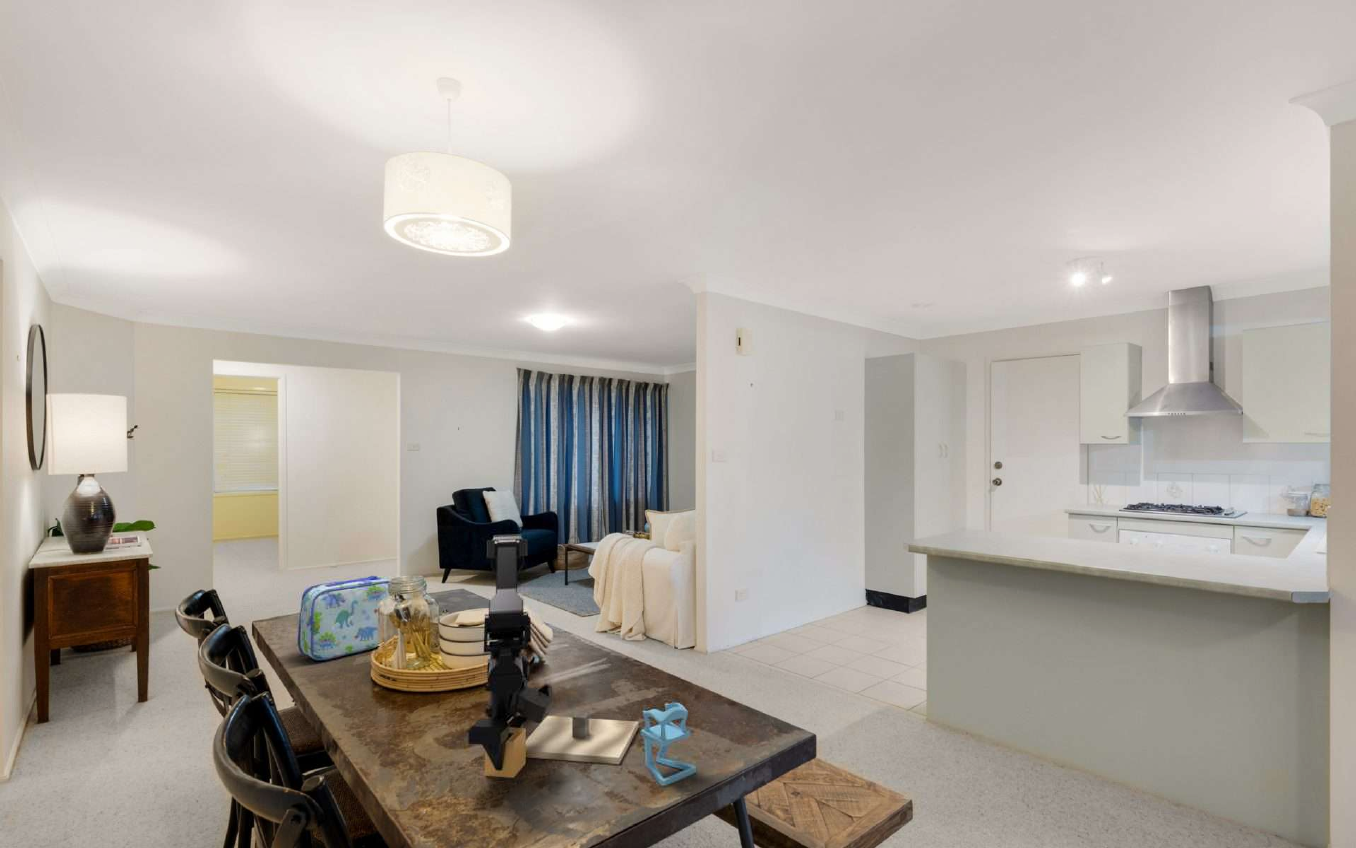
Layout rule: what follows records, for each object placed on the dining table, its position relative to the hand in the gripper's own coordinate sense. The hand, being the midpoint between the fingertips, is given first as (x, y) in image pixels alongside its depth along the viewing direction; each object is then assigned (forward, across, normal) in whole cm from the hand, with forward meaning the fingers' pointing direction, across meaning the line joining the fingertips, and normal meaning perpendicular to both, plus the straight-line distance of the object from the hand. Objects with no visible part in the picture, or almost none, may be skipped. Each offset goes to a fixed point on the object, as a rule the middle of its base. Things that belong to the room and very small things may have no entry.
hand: (505, 762), depth 119 cm
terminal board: (+1, +13, -10) cm, 16 cm away
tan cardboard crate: (+1, 0, 0) cm, 1 cm away
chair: (+2, +4, -29) cm, 29 cm away
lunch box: (+2, +59, +75) cm, 95 cm away
